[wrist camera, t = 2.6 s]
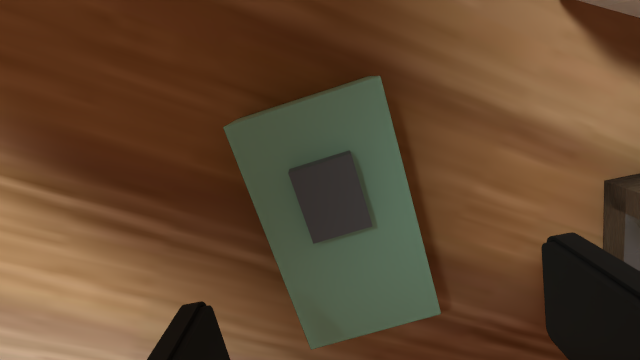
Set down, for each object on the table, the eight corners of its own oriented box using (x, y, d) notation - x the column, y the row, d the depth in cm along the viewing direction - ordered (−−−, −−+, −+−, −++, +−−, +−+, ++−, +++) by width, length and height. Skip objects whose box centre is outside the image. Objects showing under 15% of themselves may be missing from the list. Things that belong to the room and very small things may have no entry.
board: (239, 118, 16) (218, 129, 12) (367, 76, 15) (383, 75, 12) (311, 307, 19) (311, 359, 15) (420, 276, 18) (446, 323, 15)
